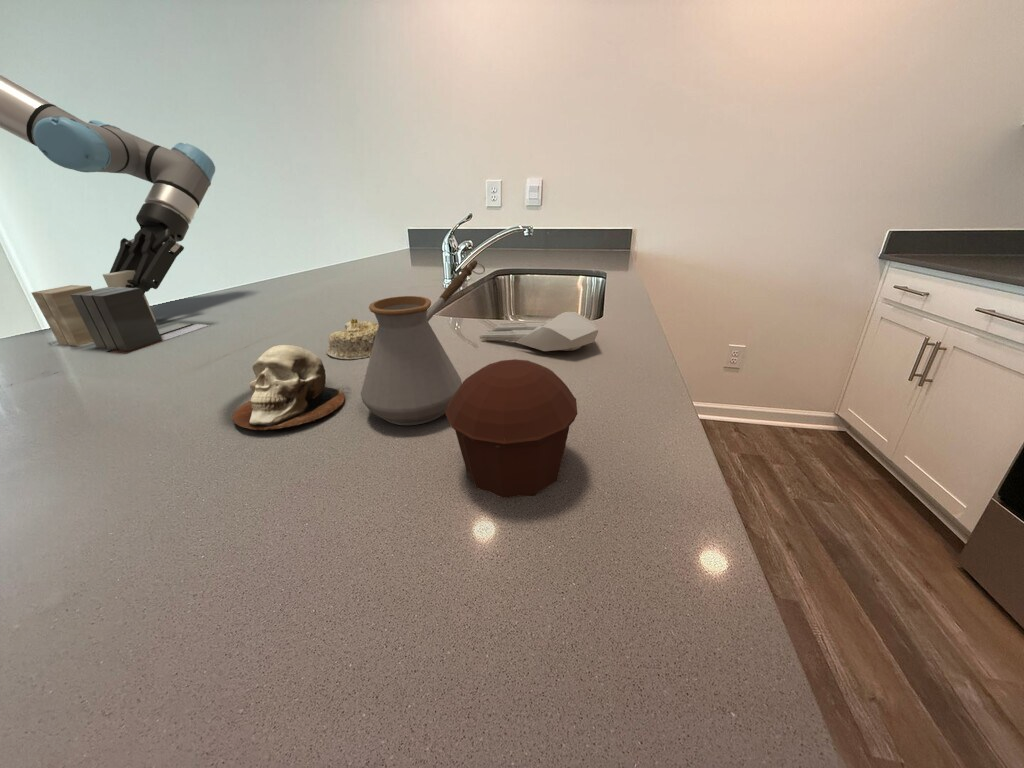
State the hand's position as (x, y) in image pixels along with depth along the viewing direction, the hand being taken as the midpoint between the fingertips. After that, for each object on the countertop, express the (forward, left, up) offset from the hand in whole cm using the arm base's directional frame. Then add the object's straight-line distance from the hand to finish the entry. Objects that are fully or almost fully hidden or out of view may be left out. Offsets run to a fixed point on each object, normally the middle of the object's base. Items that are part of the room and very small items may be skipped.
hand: (114, 318), depth 74 cm
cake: (+48, +3, -4) cm, 48 cm away
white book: (0, +4, -2) cm, 5 cm away
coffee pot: (+68, -9, -4) cm, 69 cm away
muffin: (+81, -22, -4) cm, 84 cm away
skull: (+52, -17, -4) cm, 55 cm away
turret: (+77, +11, -4) cm, 78 cm away
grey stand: (+10, -1, -4) cm, 11 cm away
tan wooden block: (0, -1, -4) cm, 4 cm away
